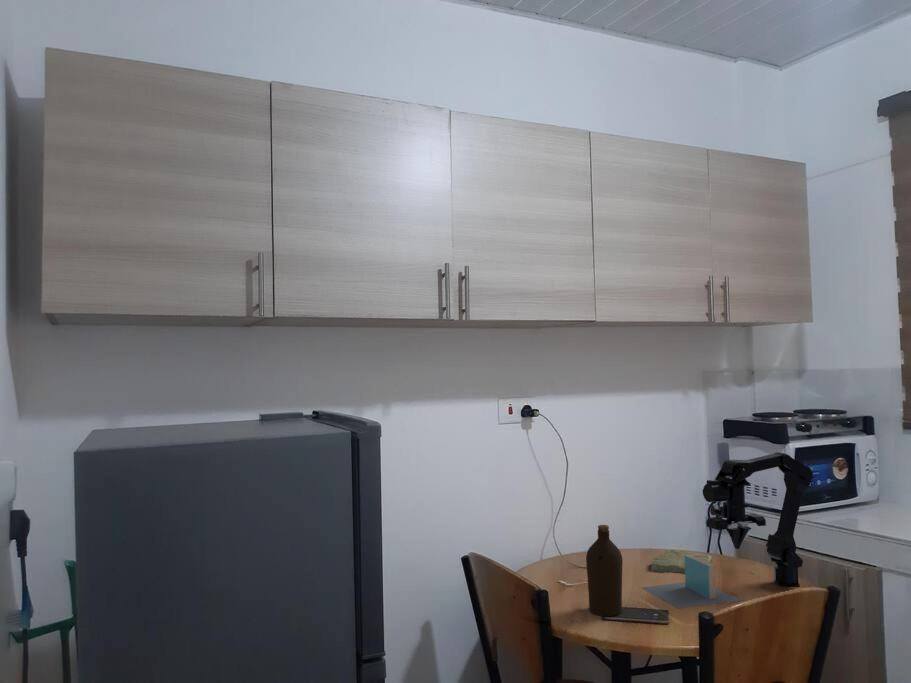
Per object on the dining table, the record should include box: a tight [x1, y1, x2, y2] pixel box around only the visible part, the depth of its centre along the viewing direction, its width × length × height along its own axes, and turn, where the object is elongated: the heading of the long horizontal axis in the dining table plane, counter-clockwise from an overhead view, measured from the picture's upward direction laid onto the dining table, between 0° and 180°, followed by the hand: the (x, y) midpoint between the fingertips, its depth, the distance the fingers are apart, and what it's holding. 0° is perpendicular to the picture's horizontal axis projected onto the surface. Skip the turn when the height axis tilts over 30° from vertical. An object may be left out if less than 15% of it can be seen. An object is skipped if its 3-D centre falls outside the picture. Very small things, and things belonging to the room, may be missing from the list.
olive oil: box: [585, 524, 624, 617], centre depth 202 cm, size 11×11×25 cm
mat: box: [641, 582, 740, 609], centre depth 214 cm, size 22×20×1 cm
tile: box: [684, 555, 716, 599], centre depth 215 cm, size 2×12×10 cm, turn 16°
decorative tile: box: [650, 549, 713, 574], centre depth 245 cm, size 19×20×4 cm
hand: (736, 548), depth 219 cm, fingers closed
